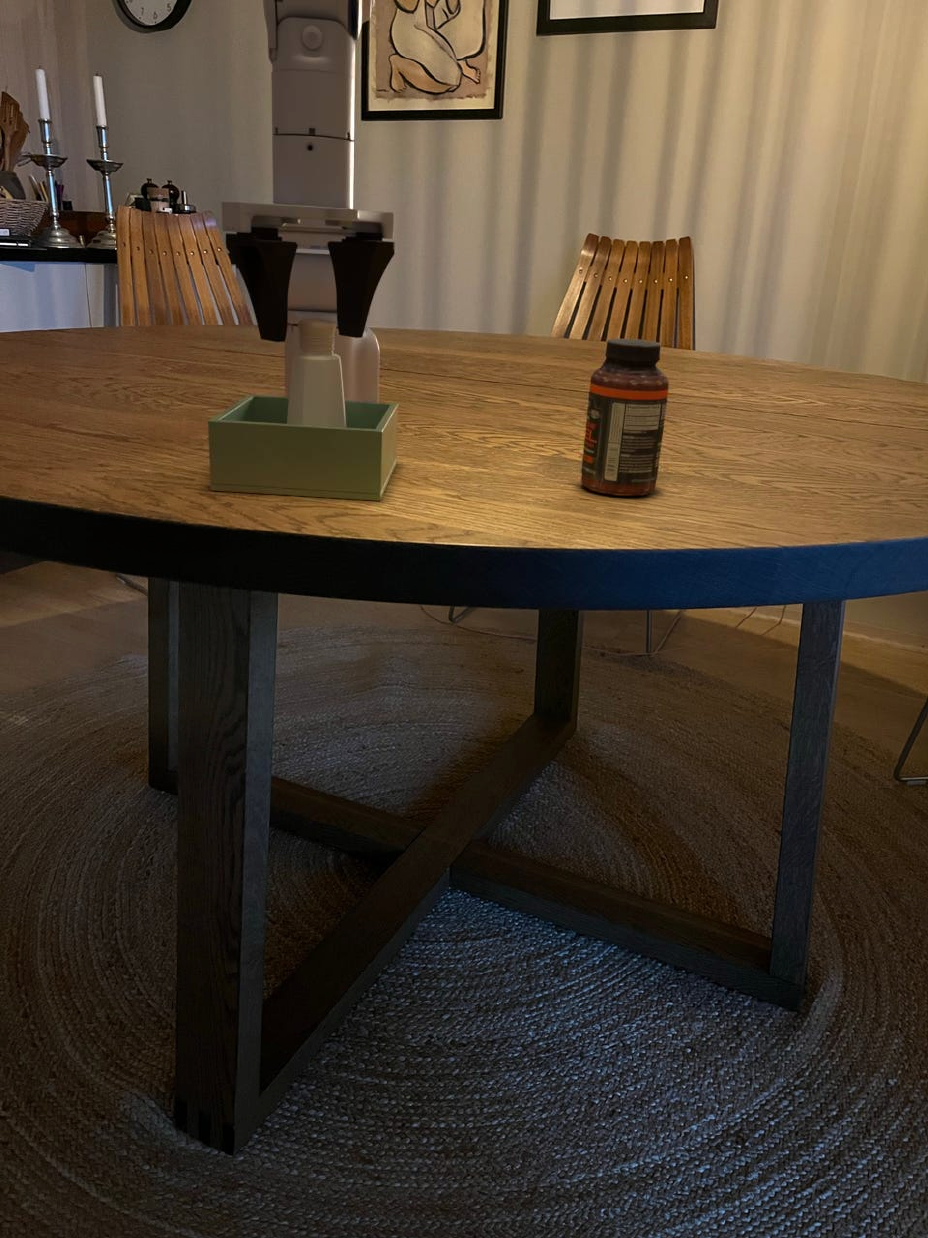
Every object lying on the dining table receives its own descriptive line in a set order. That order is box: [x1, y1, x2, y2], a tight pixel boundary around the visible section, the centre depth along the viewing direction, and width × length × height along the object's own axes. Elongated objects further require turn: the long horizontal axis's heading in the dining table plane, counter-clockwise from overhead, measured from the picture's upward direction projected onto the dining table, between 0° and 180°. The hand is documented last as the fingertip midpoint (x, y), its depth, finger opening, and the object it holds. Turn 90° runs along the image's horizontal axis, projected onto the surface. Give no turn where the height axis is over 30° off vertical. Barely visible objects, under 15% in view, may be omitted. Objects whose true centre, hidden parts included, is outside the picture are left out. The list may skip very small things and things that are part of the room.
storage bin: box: [207, 394, 399, 502], centre depth 76 cm, size 12×12×5 cm
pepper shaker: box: [287, 319, 347, 428], centre depth 76 cm, size 5×5×11 cm
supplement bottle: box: [580, 338, 670, 497], centre depth 77 cm, size 6×6×11 cm
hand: (313, 338), depth 75 cm, fingers open, 7 cm apart
